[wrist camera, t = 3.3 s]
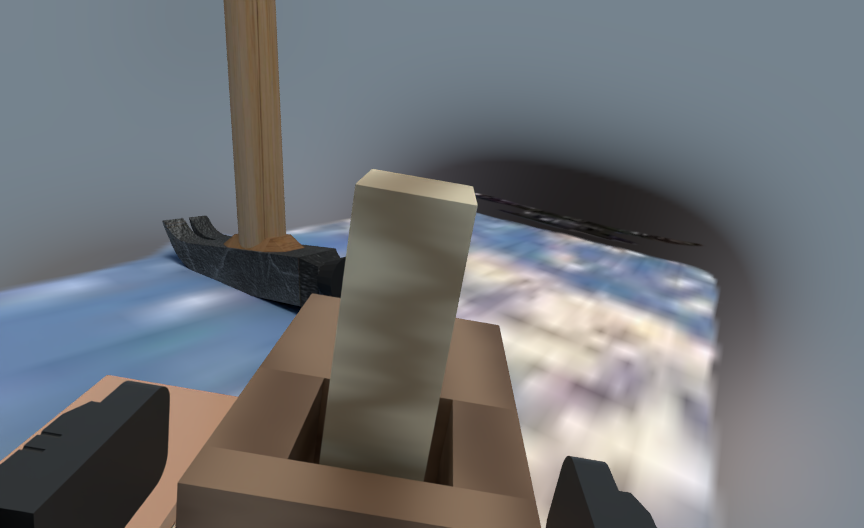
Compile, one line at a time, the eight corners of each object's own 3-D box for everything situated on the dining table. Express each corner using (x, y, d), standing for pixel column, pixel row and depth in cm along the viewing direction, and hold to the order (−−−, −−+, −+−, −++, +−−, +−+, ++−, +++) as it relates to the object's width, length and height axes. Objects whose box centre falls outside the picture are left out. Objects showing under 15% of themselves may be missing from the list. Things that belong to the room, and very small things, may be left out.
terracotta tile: (-87, 555, 20) (-89, 533, 20) (107, 390, 32) (107, 375, 32) (130, 590, 21) (130, 569, 20) (245, 413, 32) (246, 398, 32)
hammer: (167, 281, 54) (137, -55, 48) (210, 272, 58) (187, -39, 52) (329, 312, 44) (316, -103, 38) (366, 298, 48) (360, -78, 42)
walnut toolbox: (171, 623, 20) (177, 482, 18) (302, 377, 37) (311, 293, 35) (506, 677, 20) (544, 542, 18) (480, 407, 37) (499, 325, 35)
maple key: (305, 572, 23) (355, 184, 18) (326, 503, 26) (372, 168, 22) (402, 588, 23) (477, 205, 18) (409, 517, 26) (472, 186, 22)
